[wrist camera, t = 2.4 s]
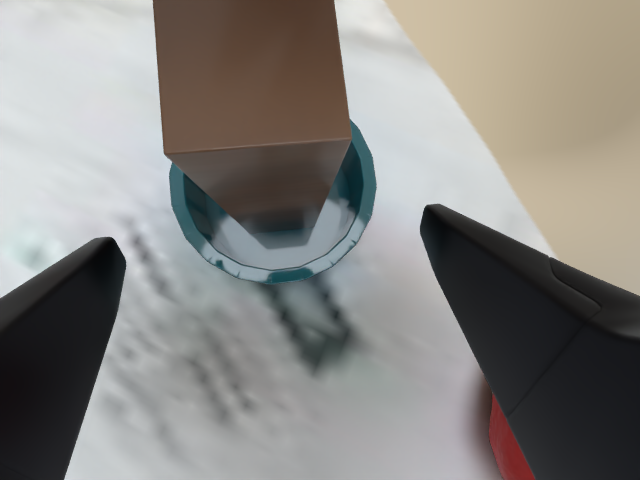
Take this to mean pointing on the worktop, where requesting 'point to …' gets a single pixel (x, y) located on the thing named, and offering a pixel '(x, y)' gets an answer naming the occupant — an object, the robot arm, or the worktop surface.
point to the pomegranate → (506, 447)
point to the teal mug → (286, 245)
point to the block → (254, 104)
